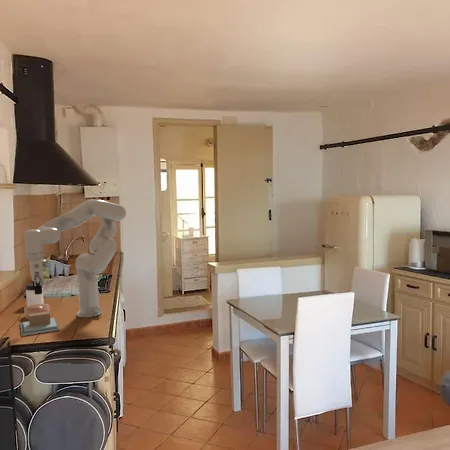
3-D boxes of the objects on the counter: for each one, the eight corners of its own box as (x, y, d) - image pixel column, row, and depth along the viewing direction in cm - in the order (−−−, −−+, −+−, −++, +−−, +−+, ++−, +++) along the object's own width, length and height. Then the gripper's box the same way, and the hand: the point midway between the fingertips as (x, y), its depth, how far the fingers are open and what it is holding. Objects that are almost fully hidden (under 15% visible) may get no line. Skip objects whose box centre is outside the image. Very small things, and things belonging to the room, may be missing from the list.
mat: (59, 330, 209) (59, 329, 209) (21, 336, 202) (21, 335, 202) (54, 319, 227) (54, 317, 227) (19, 324, 220) (19, 323, 220)
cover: (57, 327, 212) (56, 315, 211) (24, 333, 205) (23, 320, 205) (54, 319, 224) (53, 307, 223) (23, 324, 218) (22, 312, 217)
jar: (23, 306, 251) (22, 285, 249) (34, 302, 258) (33, 281, 257) (36, 307, 247) (34, 286, 246) (47, 303, 255) (45, 283, 254)
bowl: (54, 315, 234) (54, 305, 234) (33, 321, 224) (33, 311, 224) (40, 311, 241) (40, 302, 240) (19, 317, 231) (19, 307, 231)
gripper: (45, 258, 205) (48, 294, 207) (41, 252, 220) (44, 286, 222) (27, 260, 202) (30, 297, 204) (25, 254, 217) (28, 288, 219)
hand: (37, 291), depth 213 cm, fingers open, 9 cm apart
